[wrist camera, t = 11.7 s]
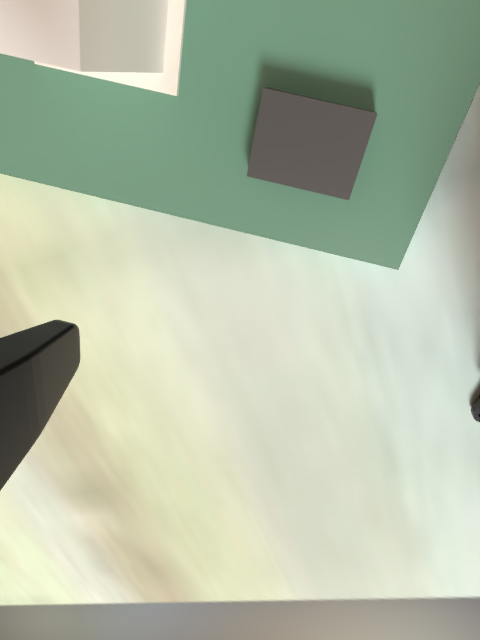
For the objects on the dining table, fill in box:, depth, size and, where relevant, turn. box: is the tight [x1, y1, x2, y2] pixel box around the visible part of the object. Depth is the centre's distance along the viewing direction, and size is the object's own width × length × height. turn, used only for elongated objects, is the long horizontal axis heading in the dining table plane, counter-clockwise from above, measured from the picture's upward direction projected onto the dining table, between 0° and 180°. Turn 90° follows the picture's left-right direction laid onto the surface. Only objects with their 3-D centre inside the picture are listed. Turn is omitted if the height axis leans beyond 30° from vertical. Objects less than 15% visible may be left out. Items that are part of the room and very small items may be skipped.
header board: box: [0, 0, 480, 270], centre depth 14 cm, size 20×14×3 cm
